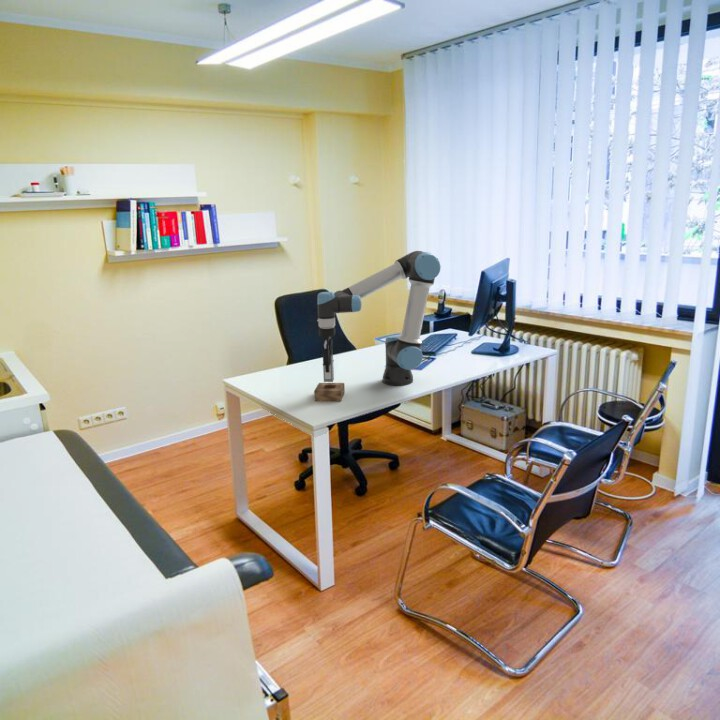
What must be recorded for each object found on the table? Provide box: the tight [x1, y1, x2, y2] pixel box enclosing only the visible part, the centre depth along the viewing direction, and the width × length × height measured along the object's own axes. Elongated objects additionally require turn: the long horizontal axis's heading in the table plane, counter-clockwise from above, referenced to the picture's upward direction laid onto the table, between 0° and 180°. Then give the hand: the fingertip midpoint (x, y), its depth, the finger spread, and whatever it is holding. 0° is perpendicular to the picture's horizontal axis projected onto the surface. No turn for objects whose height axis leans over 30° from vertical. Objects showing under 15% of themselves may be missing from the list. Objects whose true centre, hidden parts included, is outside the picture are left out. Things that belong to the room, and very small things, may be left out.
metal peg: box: [322, 354, 335, 383], centre depth 266 cm, size 4×4×12 cm
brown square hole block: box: [313, 382, 345, 402], centre depth 269 cm, size 12×12×5 cm
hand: (328, 377), depth 267 cm, fingers closed on metal peg, 4 cm apart
